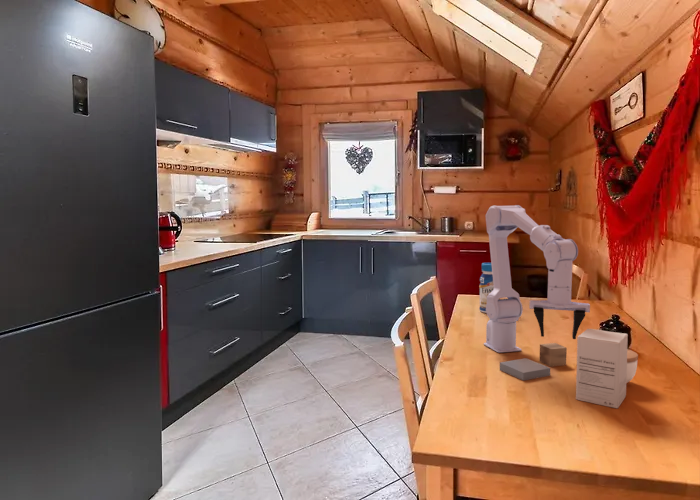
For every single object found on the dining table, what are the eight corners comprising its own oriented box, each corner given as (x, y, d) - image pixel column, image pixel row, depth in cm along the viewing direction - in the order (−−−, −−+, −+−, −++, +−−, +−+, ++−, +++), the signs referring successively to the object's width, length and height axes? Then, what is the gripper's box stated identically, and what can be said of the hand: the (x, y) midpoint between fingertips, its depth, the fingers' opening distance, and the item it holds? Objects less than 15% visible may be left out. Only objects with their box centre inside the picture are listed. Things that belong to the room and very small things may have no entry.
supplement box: (585, 388, 122) (587, 327, 120) (626, 396, 116) (629, 333, 115) (574, 399, 115) (576, 335, 113) (617, 409, 109) (620, 342, 108)
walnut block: (539, 361, 143) (539, 344, 142) (554, 359, 144) (555, 342, 143) (550, 366, 138) (550, 349, 137) (566, 365, 139) (566, 347, 138)
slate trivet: (499, 371, 136) (499, 362, 135) (525, 366, 139) (525, 358, 139) (523, 382, 127) (523, 372, 127) (550, 377, 131) (550, 367, 131)
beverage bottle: (498, 309, 211) (499, 262, 209) (501, 313, 203) (502, 264, 201) (478, 309, 212) (478, 262, 210) (480, 313, 204) (480, 264, 202)
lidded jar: (611, 392, 119) (612, 353, 118) (579, 377, 129) (580, 341, 128) (647, 387, 122) (649, 349, 121) (613, 372, 132) (614, 338, 131)
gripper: (529, 287, 129) (528, 338, 131) (591, 290, 124) (589, 343, 126) (530, 282, 136) (529, 331, 137) (589, 285, 131) (587, 336, 132)
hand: (558, 336), depth 132 cm, fingers open, 7 cm apart
